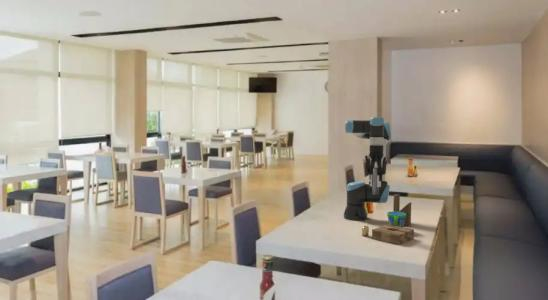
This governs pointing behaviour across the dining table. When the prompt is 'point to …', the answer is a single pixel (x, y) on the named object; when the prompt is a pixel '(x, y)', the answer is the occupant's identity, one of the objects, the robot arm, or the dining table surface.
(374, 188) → the long steel pin
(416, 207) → the dining table surface
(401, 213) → the snack cup
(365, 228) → the short brass pin
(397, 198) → the brown forked bracket
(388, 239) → the hole block
